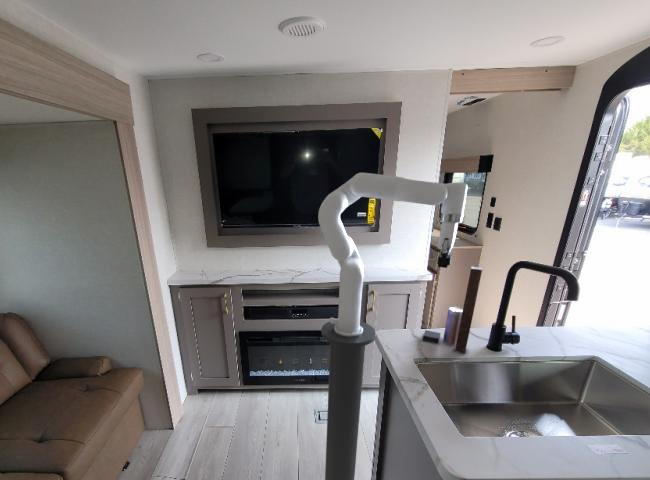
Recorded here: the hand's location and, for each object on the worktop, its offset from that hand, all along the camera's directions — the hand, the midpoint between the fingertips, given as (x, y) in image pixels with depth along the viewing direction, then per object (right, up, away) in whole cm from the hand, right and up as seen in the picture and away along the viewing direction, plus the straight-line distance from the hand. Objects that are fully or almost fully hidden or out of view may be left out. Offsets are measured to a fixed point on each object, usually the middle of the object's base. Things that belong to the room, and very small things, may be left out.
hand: (443, 265), depth 127 cm
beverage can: (+7, -32, +9) cm, 34 cm away
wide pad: (0, -30, +12) cm, 33 cm away
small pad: (0, +1, 0) cm, 1 cm away
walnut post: (+8, -34, +3) cm, 35 cm away
